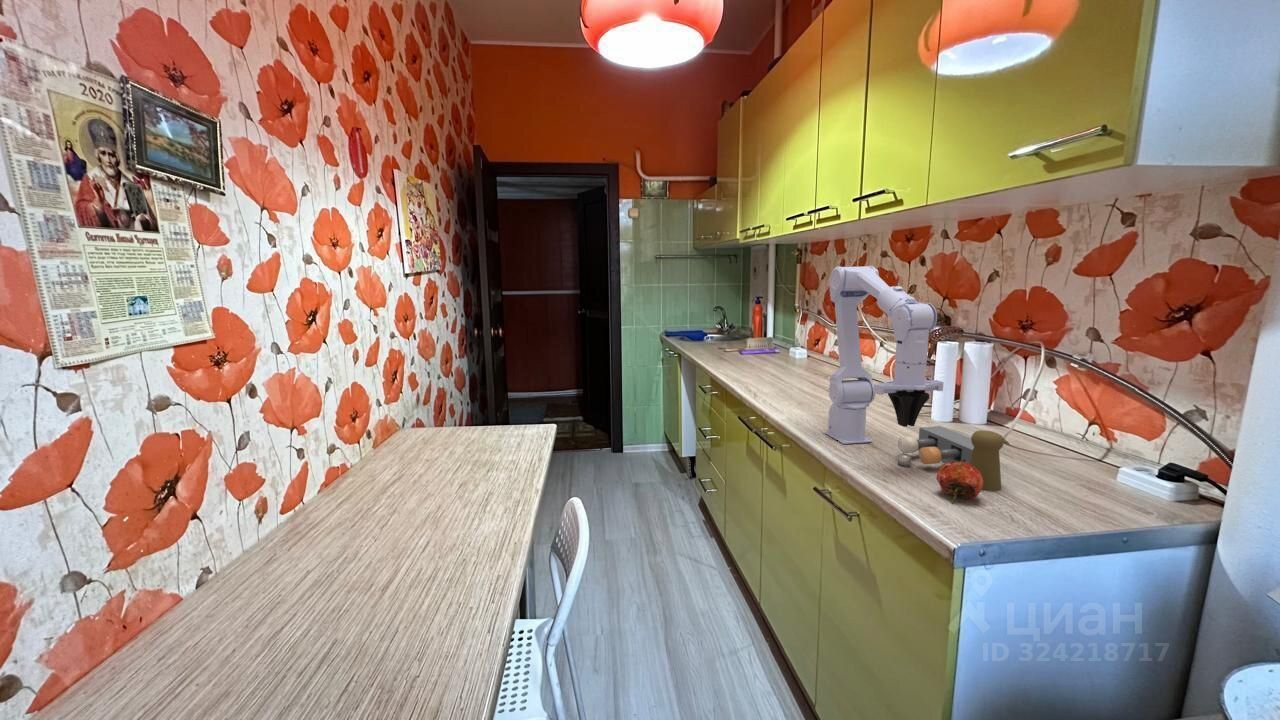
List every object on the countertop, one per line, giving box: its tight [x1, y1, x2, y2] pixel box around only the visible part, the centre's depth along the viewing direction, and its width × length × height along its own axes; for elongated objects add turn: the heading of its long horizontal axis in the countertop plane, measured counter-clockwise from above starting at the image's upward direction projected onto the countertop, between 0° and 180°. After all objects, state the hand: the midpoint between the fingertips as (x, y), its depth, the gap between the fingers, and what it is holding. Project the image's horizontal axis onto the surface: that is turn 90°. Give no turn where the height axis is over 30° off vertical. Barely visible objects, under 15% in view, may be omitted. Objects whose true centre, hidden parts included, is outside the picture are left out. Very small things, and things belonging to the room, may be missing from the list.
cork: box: [969, 429, 1005, 492], centre depth 97 cm, size 6×6×11 cm
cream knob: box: [897, 435, 938, 454], centre depth 113 cm, size 4×10×4 cm, turn 98°
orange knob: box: [918, 447, 962, 465], centre depth 106 cm, size 4×10×4 cm, turn 98°
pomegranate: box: [936, 460, 983, 505], centre depth 93 cm, size 7×7×10 cm
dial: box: [897, 453, 913, 468], centre depth 109 cm, size 3×3×2 cm
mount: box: [917, 425, 974, 464], centre depth 111 cm, size 16×6×6 cm, turn 9°
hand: (906, 425), depth 104 cm, fingers closed
